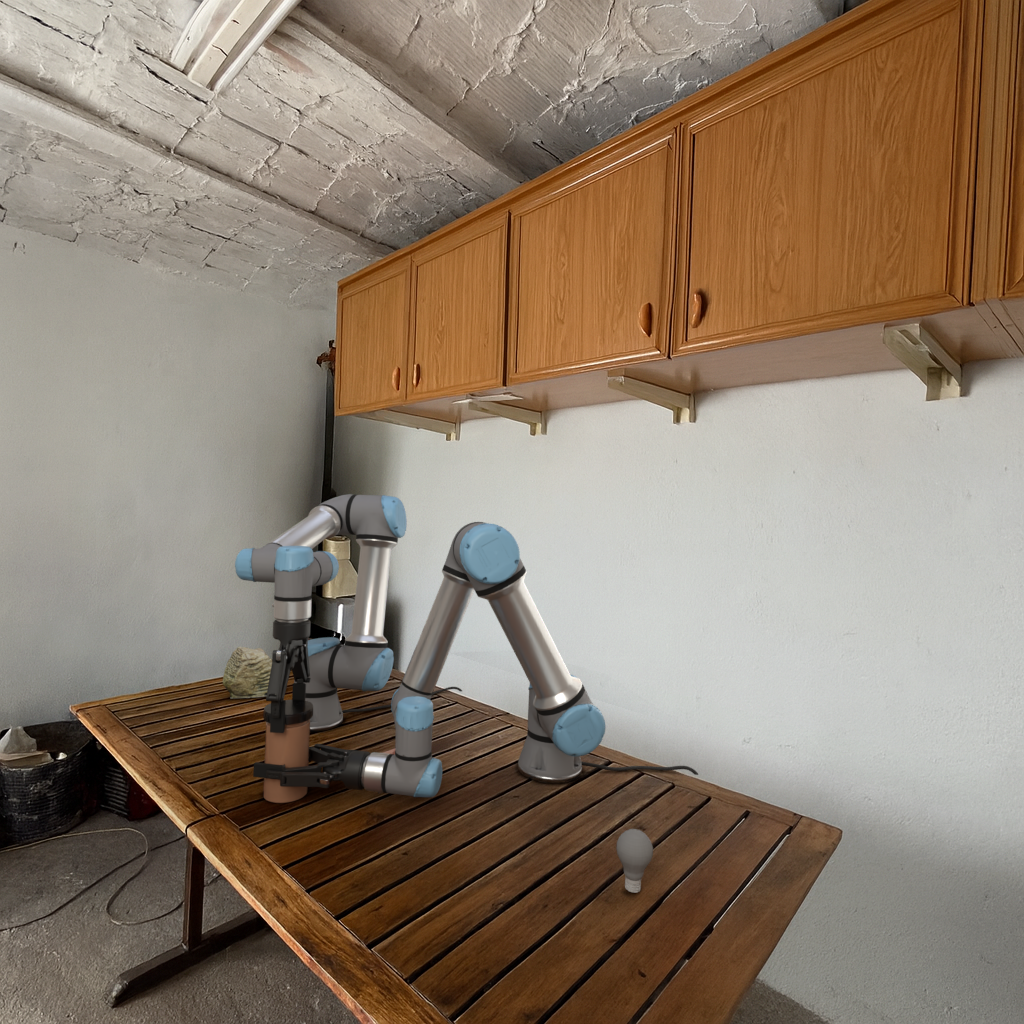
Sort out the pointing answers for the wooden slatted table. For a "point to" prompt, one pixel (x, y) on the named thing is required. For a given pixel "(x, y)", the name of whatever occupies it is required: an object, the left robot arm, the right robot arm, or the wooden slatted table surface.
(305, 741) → the jar
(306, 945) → the wooden slatted table surface
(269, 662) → the fossil
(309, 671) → the left robot arm
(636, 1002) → the wooden slatted table surface
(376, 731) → the wooden slatted table surface
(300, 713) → the lid
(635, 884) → the light bulb
